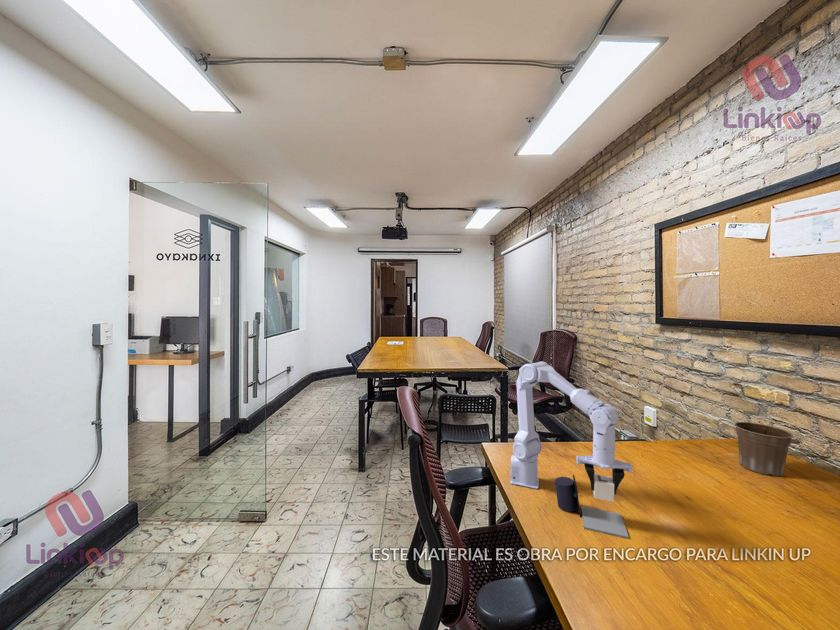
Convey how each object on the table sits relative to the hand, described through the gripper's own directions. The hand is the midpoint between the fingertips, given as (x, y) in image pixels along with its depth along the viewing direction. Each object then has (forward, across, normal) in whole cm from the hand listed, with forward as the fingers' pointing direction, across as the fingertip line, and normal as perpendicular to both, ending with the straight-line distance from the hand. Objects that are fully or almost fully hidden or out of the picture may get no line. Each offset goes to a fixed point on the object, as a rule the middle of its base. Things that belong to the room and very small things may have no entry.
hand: (603, 491), depth 99 cm
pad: (+8, 0, -2) cm, 9 cm away
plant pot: (+9, +64, +59) cm, 87 cm away
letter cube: (+2, 0, 0) cm, 2 cm away
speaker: (+9, -10, +2) cm, 13 cm away
